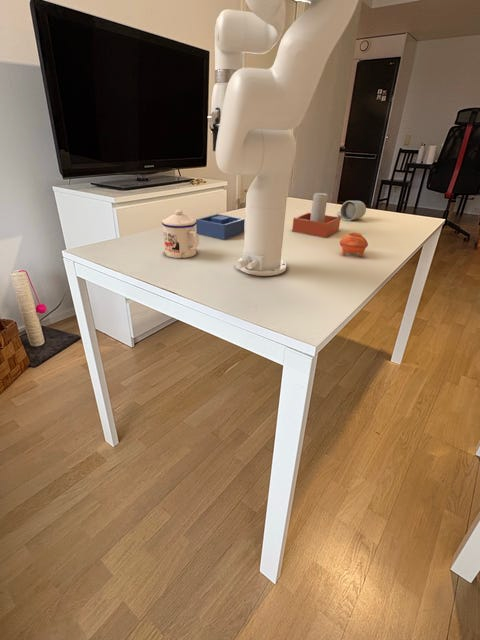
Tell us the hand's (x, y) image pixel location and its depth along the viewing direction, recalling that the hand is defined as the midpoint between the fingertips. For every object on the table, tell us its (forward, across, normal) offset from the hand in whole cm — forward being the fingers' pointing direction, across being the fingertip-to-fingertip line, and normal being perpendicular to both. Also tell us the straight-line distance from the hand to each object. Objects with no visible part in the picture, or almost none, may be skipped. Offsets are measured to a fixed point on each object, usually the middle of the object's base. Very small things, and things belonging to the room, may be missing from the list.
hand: (228, 151), depth 100 cm
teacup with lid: (+26, +23, +2) cm, 34 cm away
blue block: (+24, -2, -4) cm, 25 cm away
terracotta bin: (+25, -27, +20) cm, 42 cm away
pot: (+26, -9, +39) cm, 47 cm away
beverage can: (+25, -27, +20) cm, 42 cm away
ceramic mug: (+25, -55, +23) cm, 65 cm away
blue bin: (+25, -2, -4) cm, 26 cm away
